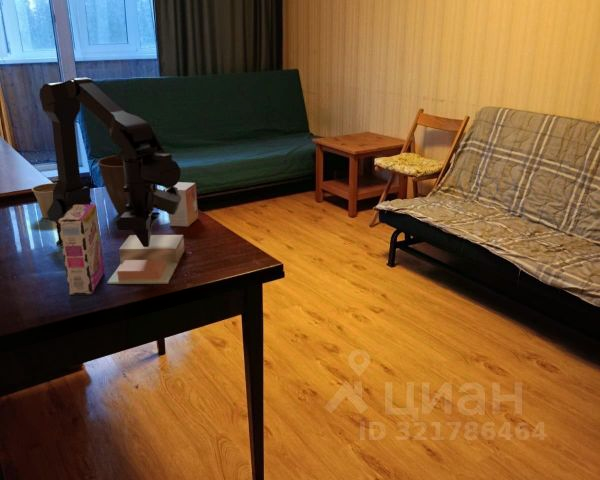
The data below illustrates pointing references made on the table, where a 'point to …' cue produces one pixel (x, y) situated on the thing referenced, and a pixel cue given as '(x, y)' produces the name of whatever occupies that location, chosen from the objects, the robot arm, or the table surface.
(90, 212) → the candy bar box
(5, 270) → the table surface
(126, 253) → the deck
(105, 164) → the plant pot
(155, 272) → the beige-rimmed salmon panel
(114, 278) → the mat
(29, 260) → the table surface
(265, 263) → the table surface
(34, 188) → the flower pot
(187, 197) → the small box
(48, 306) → the table surface
